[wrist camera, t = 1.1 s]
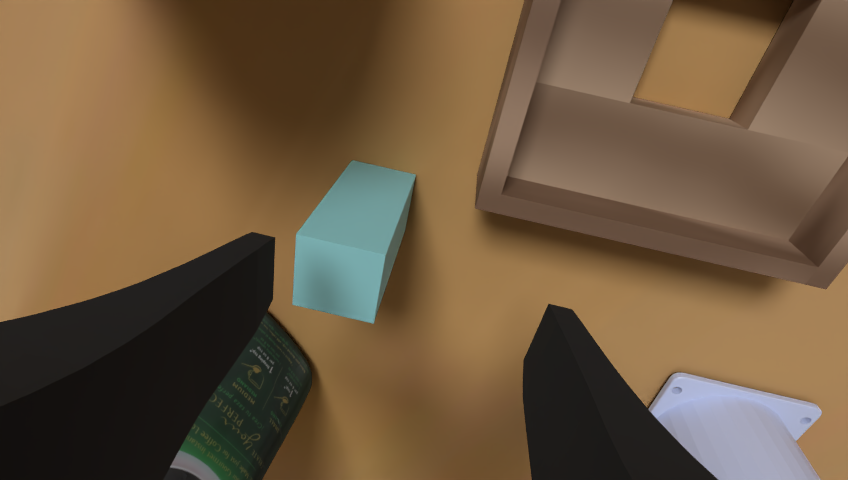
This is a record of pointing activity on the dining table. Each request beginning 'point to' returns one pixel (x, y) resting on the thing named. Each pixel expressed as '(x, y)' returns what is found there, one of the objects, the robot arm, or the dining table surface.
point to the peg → (352, 242)
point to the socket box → (676, 141)
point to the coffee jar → (247, 411)
